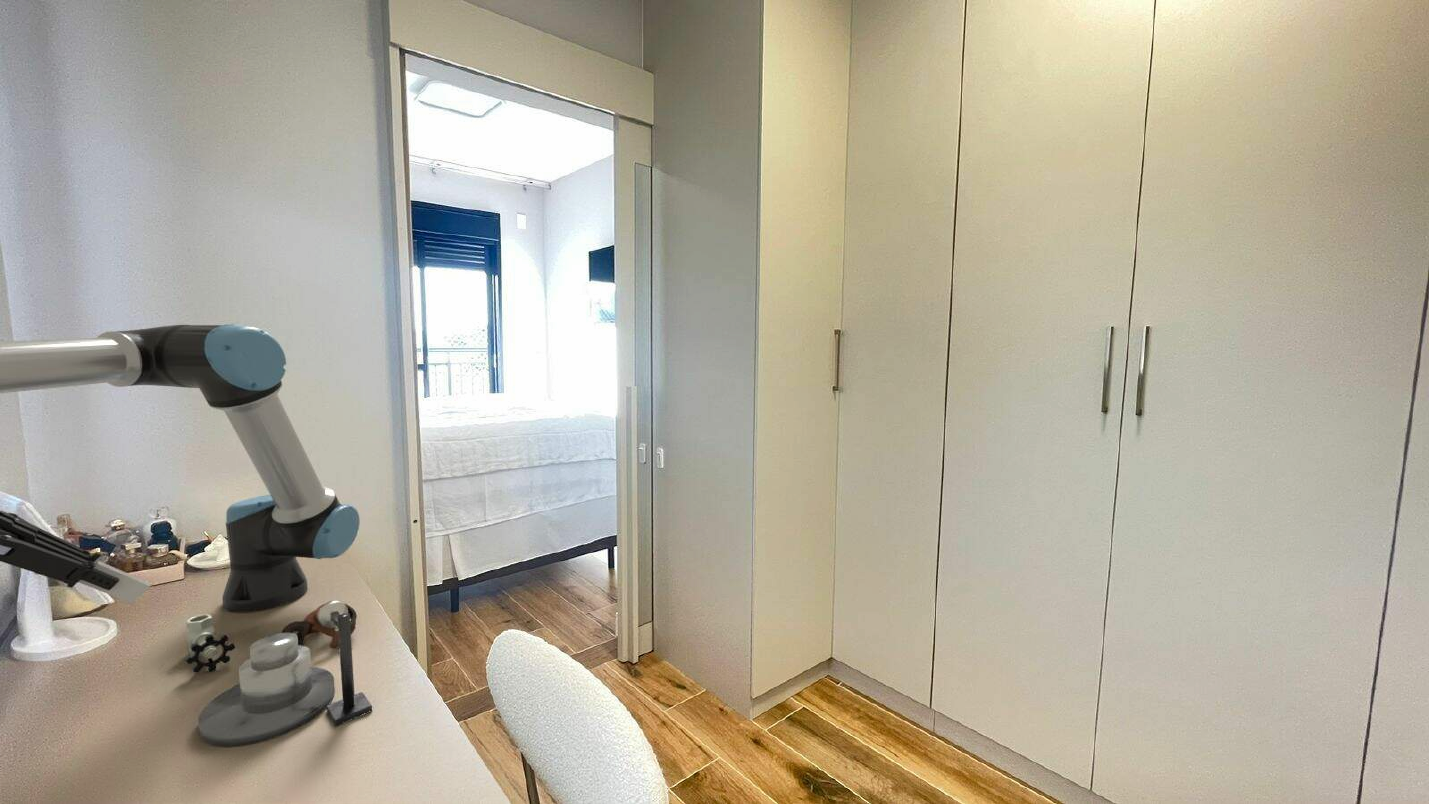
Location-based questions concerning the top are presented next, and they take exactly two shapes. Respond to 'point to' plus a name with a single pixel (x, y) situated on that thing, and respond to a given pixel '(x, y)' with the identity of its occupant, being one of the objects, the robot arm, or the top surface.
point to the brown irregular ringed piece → (318, 627)
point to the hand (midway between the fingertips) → (140, 593)
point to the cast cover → (275, 674)
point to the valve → (205, 643)
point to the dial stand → (343, 665)
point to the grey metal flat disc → (261, 715)
